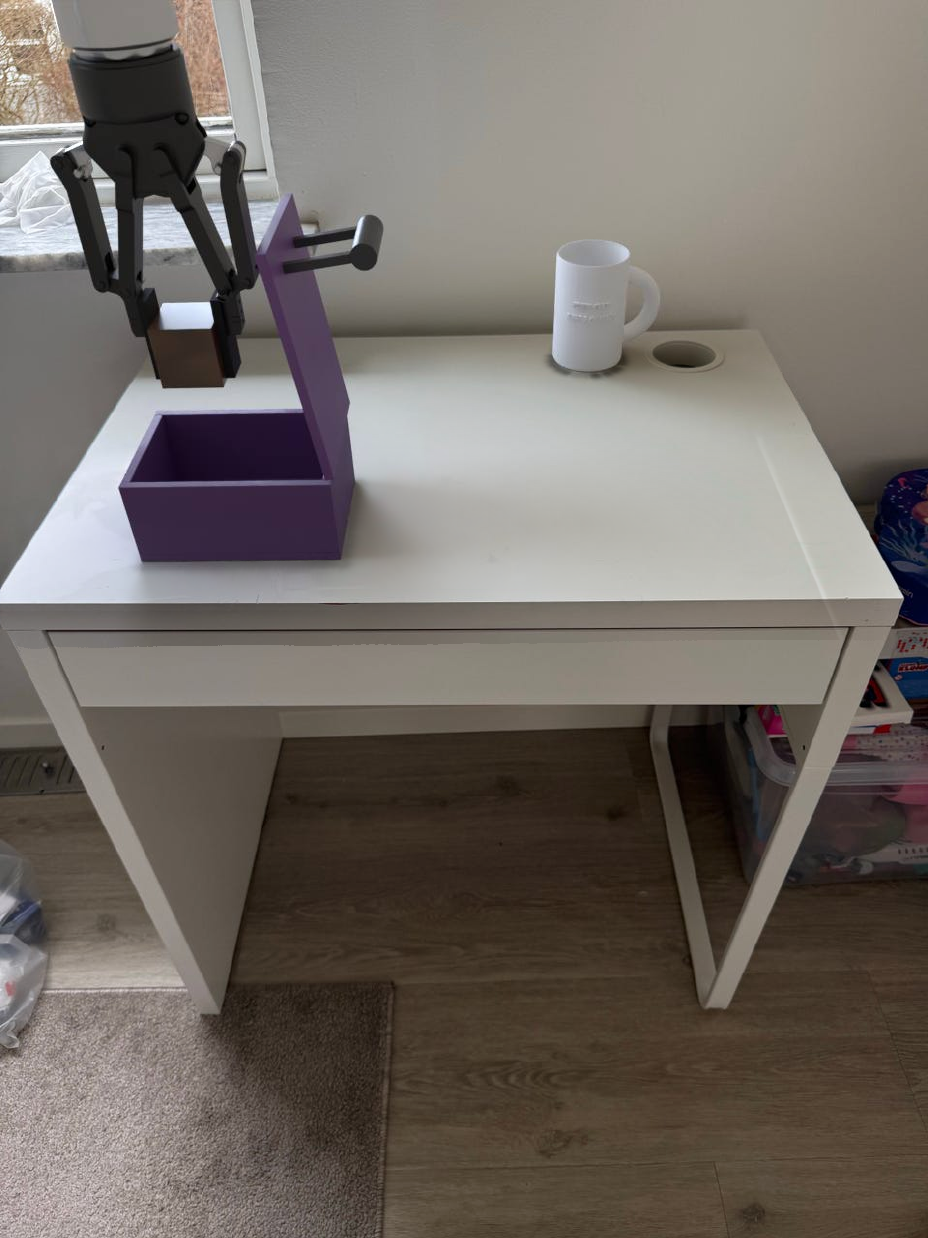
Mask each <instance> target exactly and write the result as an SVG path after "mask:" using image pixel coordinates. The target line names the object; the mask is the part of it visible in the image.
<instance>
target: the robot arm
mask: <svg viewBox="0 0 928 1238" xmlns="http://www.w3.org/2000/svg"><path fill="white" fill-rule="evenodd" d="M50 3H51V8H52V12H53V16H54V20H55V23H56V27H57V28H56V29H57V32H58V36H59V39H60V42H61V43H62V44H63V45H64V46H66V47H67V48H68V49H71V50H73V51H71V52H70V53H69V54H68V59H67V61H66V64H67V67H68V72H69V75H70V78H71V83H72V87H73V90H74V93H75V97H76V101H77V105H78V108H79V112H80V115H81V117H82V120H83V124H84V125H83V126H84V127H83V128H84V129H83V134H82V140H81V142H78V143H76V144H74V145H70V144H65V145H63V146H62V147H61V148H60V149H59V150H57V152H55V153H54V154H52V156H51V157H50V159H49V165H50V167H51V169H52V171H53V172H54V173H55V175H56V177H57V178H58V180H59V182H60V184H61V185H62V186H63V188H64V189H65V192H66V195H67V198H68V201H69V202H68V203H69V205H70V209H71V212H72V216H73V219H74V224H75V226H76V231H77V233H78V237H79V240H80V244H81V248H82V251H83V254H84V258H85V262H86V265H87V268H88V269H87V270H88V273H89V275H90V280H91V283H92V286H93V288H94V289H95V291H97V292H98V293H101V294H104V293H105V294H106V293H107V292H108V293H110V294H113V295H116V296H118V297H119V298H120V299H121V300H122V301H123V304H124V308H125V311H126V316H127V319H128V323H129V326H130V329H131V332H132V334H133V335H134V337H135V338H144V339H145V343H146V347H147V351H148V353H149V357H150V361H151V366H152V369H153V373H154V377H155V380H156V381H157V380H158V381H161V380H160V377H159V373H158V369H157V365H156V362H155V358H154V354H153V350H152V347H151V343H150V339H149V335H148V331H147V330H148V328H149V326H150V325H151V323H152V321H153V320H154V318H155V316H156V315H157V313H158V311H159V310H160V308H161V307H160V304H159V301H158V297H157V292H156V288H155V287H143V285H144V283H145V282H146V277H144V201H145V199H146V198H148V197H149V198H150V197H151V196H156V197H161V198H167V199H168V198H169V199H170V201H171V204H172V205H173V207H174V209H175V211H176V212H177V213H179V214H180V215H181V218H182V221H183V222H184V225H185V227H186V229H187V231H188V234H189V235H190V237H191V240H192V242H193V244H194V246H195V248H196V250H197V252H198V254H199V256H200V259H201V261H202V263H203V265H204V267H205V269H206V271H207V274H208V276H209V278H210V280H211V281H212V283H213V286H214V291H213V292H212V295H211V297H210V298H209V302H210V306H211V311H212V315H213V320H214V323H215V328H216V332H217V337H218V342H219V346H220V351H221V356H222V360H223V365H224V370H225V374H226V378H227V379H236V377H237V375H238V373H239V371H240V367H241V364H242V359H241V354H240V349H239V343H238V338H237V336H241V335H242V334H243V332H244V328H245V325H246V317H245V312H244V306H243V301H242V295H241V292H242V291H245V290H248V291H249V290H252V289H254V287H255V285H256V283H257V280H258V278H259V277H260V276H259V275H260V272H259V269H258V266H257V263H256V259H255V254H256V252H257V250H258V248H257V245H256V244H257V243H256V238H255V233H254V228H253V223H252V218H251V217H252V216H251V213H250V208H249V202H248V196H247V191H246V186H245V185H246V184H245V180H244V171H245V164H246V157H247V147H246V145H245V143H243V142H242V141H240V140H237V139H235V140H232V142H231V143H229V142H225V141H223V140H220V139H216V138H214V137H211V136H208V133H207V131H206V129H205V128H204V126H203V125H202V123H201V121H200V120H199V118H198V116H197V113H196V108H195V102H194V97H193V92H192V87H191V81H190V75H189V72H188V67H187V62H186V57H185V51H184V49H183V48H181V47H180V45H179V44H178V43H176V42H174V41H173V40H175V38H176V37H177V36H178V35H179V33H180V27H179V23H178V16H177V11H176V7H175V2H174V0H50ZM204 156H205V157H206V158H208V159H209V161H210V165H211V169H212V172H213V173H214V174H215V175H217V176H218V177H219V189H220V190H219V191H220V196H221V201H222V206H223V211H224V215H225V221H226V226H227V231H228V234H229V238H230V239H229V240H230V245H231V249H232V254H233V255H232V256H233V259H234V264H235V266H234V264H233V262H232V259H231V257H230V255H229V253H228V251H227V248H226V245H225V244H224V241H223V239H222V238H221V234H220V233H219V230H218V229H217V226H216V223H215V222H214V219H213V217H212V215H211V213H210V211H209V209H208V206H207V204H206V202H205V200H204V197H203V191H202V188H201V185H200V183H199V181H198V179H197V176H196V172H197V170H198V167H199V165H200V163H201V161H202V159H203V157H204ZM92 161H93V162H94V163H95V164H96V165H97V166H98V167H99V168H100V169H101V170H102V171H103V172H104V173H105V174H106V175H107V176H108V177H109V179H110V180H111V181H112V182H113V183H114V206H115V209H116V212H117V215H116V216H117V263H116V261H115V257H114V253H113V248H112V246H111V241H110V237H109V234H108V230H107V225H106V221H105V218H104V215H103V211H102V207H101V203H100V200H99V195H98V192H97V188H96V184H95V182H94V178H93V176H92V174H93V171H94V167H93V163H92ZM116 264H117V265H116ZM143 288H144V289H143Z"/></svg>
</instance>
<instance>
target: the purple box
mask: <svg viewBox="0 0 928 1238" xmlns="http://www.w3.org/2000/svg"><path fill="white" fill-rule="evenodd" d="M352 452H353V451H352V443H351V434H350V426H349V418H348V416H347V420H346V425H345V430H344V435H343V440H342V444H341V449H340V454H339V459H338V464H337V469H336V474H335V479H334V480H326V481H325V478H324V475H323V472H322V469H321V466H320V463H319V459H318V456H317V453H316V450H315V447H314V444H313V440H312V437H311V434H310V431H309V428H308V425H307V421H306V418H305V415H304V412H303V409H302V408H262V409H261V408H257V409H255V408H253V409H194V410H193V409H192V410H190V409H189V410H188V409H186V410H184V409H183V410H181V409H180V410H156V412H155V413H154V416H153V418H152V420H151V422H150V424H149V426H148V428H147V429H146V431H145V433H144V435H143V438H142V440H141V441H140V443H139V445H138V447H137V449H136V451H135V453H134V455H133V457H132V459H131V462H130V463H129V465H128V467H127V469H126V472H125V473H124V475H123V476H122V479H121V480H120V481H121V482H120V483H119V485H118V487H117V489H118V492H119V495H120V499H121V501H122V502H121V503H122V505H123V508H124V511H125V514H126V517H127V520H128V522H129V526H130V529H131V533H132V537H133V539H134V542H135V545H136V548H137V551H138V554H139V558H140V560H141V562H217V561H218V562H219V561H220V562H223V561H226V562H230V561H231V562H232V561H234V562H235V561H314V560H316V561H317V560H322V561H323V560H324V561H325V560H327V561H328V560H333V561H334V560H341V559H342V555H343V550H344V545H345V538H346V532H347V528H348V527H347V525H348V520H349V515H350V509H351V503H352V498H353V493H354V487H355V483H356V482H355V481H356V477H355V468H354V460H353V453H352Z"/></svg>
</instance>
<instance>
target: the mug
mask: <svg viewBox="0 0 928 1238" xmlns="http://www.w3.org/2000/svg"><path fill="white" fill-rule="evenodd" d="M555 259H556V261H555V282H554V302H553V303H554V308H553V309H554V310H553V329H552V350H551V354H552V357H553V359H554V361H555V362H556V364H558V365H559V366H561V367H563V368H565V369H568V370H571V371H576V372H582V373H583V372H585V373H586V372H587V373H591V372H601V371H606V370H609V369H611V368H612V367H613V368H614V367H615V366H616V365H617V364H618V363H619V362H620V361H621V359H622V353H623V343H626V342H629V341H632V340H634V339H636V338H639V336H642V335H643V334H644V333H646V331H648V330H649V329H650V328H651V326H652V325H653V323H654V322H655V320H656V319H657V317H658V314H659V311H660V307H661V292H660V287H659V285H658V283H657V282H656V280H655V279H654V278H653V276H652V275H651V274H650V273H648V272H647V271H645V270H643V269H642V268H639V267H637V266H633V265H631V260H632V254H631V251H630V250H629V249H628V248H627V247H626V246H624V245H622V244H621V243H618V242H615V241H610V240H606V239H580V240H579V239H578V240H575V241H574V240H573V241H570V242H568V243H565V244H563V245H561V246H560V247H559V249H558V250H557V252H556V257H555ZM629 284H630V285H633V286H635V287H636V288H637V289H638V290H639V291H640V293H641V294H642V297H643V298H642V299H643V304H642V306H641V307H642V308H641V310H640V311H639V313H638V314H637V316H636V317H635V318H634V319H632V320H631V321H630V322H628V323H625V322H626V312H627V302H628V291H629V290H628V289H629Z"/></svg>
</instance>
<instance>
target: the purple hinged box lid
mask: <svg viewBox="0 0 928 1238" xmlns="http://www.w3.org/2000/svg"><path fill="white" fill-rule="evenodd" d="M357 222H358V223H357V225H356V226H350V227H343V228H338V229H331V230H325V231H320V232H314V233H308V234H305V233H304V231H303V226H302V223H301V220H300V216H299V212H298V208H297V205H296V201H295V198H294V194H293V193H286V194H282V196H281V198H280V200H279V203H278V204H277V207H276V209H275V211H274V213H273V215H272V218H271V219H270V222H269V224H268V226H267V227H266V230H265V232H264V235H263V236H262V239H261V241H260V244H259V245H258V248H257V252H256V254H255V259H256V263H257V266H258V269H259V272H260V274H259V275H260V278H261V281H262V285H263V287H264V291H265V294H266V298H267V300H268V303H269V307H270V310H271V313H272V317H273V319H274V320H273V321H274V322H275V326H276V329H277V332H278V336H279V339H280V343H281V345H282V348H283V351H284V355H285V359H286V361H287V364H288V367H289V370H290V374H291V377H292V380H293V383H294V386H295V389H296V392H297V396H298V399H299V402H300V405H301V409H303V412H304V415H305V418H306V421H307V425H308V428H309V431H310V434H311V437H312V440H313V444H314V447H315V450H316V453H317V456H318V459H319V463H320V466H321V469H322V472H323V475H324V478H325V481H326V480H334V479H335V474H336V469H337V464H338V459H339V454H340V449H341V444H342V440H343V435H344V430H345V425H346V420H347V417H348V415H349V410H350V405H351V401H350V398H349V393H348V391H347V386H346V383H345V379H344V375H343V372H342V369H341V365H340V360H339V357H338V353H337V350H336V346H335V343H334V339H333V335H332V332H331V329H330V325H329V321H328V318H327V314H326V310H325V307H324V303H323V299H322V296H321V293H320V289H319V285H318V281H317V278H316V275H315V270H321V269H325V268H333V267H339V266H344V265H352V266H353V267H354V268H355V269H357V270H359V271H362V272H367V271H370V270H372V269H373V268H374V267H375V266H376V265H377V263H378V258H379V254H380V249H381V244H382V240H383V235H384V224H383V222H382V220H381V219H380V218H379V217H377V216H376V215H374V214H366V215H363V216H361V218H360V219H358V221H357ZM348 240H352V244H351V248H350V250H346V251H340V252H334V253H330V254H329V253H328V254H323V255H317V256H310V252H309V249H308V247H313V246H314V247H315V246H319V245H325V244H331V243H338V242H343V241H348Z"/></svg>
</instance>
